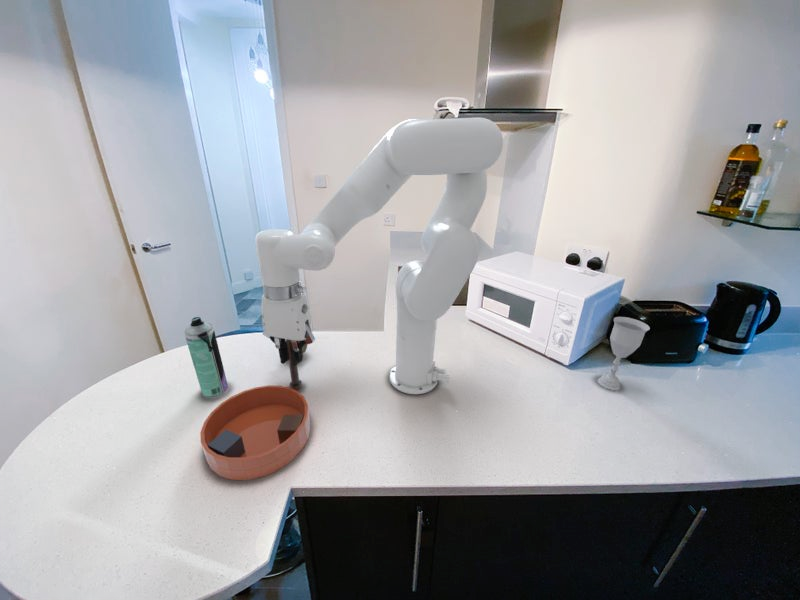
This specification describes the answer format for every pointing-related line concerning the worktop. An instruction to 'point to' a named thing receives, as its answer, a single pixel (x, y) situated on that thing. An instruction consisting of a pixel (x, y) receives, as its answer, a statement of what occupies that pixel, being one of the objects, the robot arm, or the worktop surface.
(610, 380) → the chalice
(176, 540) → the worktop surface
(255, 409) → the bowl
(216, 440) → the slate block
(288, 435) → the walnut block
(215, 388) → the spray can
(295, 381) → the muddler
